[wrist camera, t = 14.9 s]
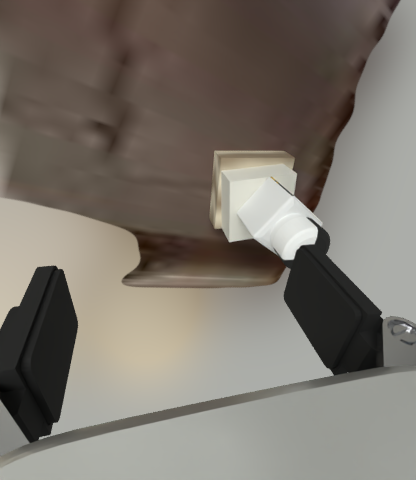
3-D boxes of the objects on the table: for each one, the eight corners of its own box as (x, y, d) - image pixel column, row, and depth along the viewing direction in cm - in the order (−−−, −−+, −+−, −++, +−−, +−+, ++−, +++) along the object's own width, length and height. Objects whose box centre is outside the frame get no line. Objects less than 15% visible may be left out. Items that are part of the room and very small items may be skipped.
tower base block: (213, 149, 44) (220, 158, 40) (282, 149, 47) (295, 157, 43) (208, 216, 51) (214, 228, 47) (269, 213, 53) (279, 224, 50)
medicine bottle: (298, 201, 42) (348, 245, 32) (265, 234, 44) (303, 285, 35) (269, 174, 38) (316, 215, 29) (235, 212, 41) (268, 262, 31)
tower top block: (221, 170, 41) (229, 181, 38) (283, 163, 43) (297, 173, 39) (221, 227, 47) (229, 242, 43) (276, 219, 49) (288, 232, 45)
